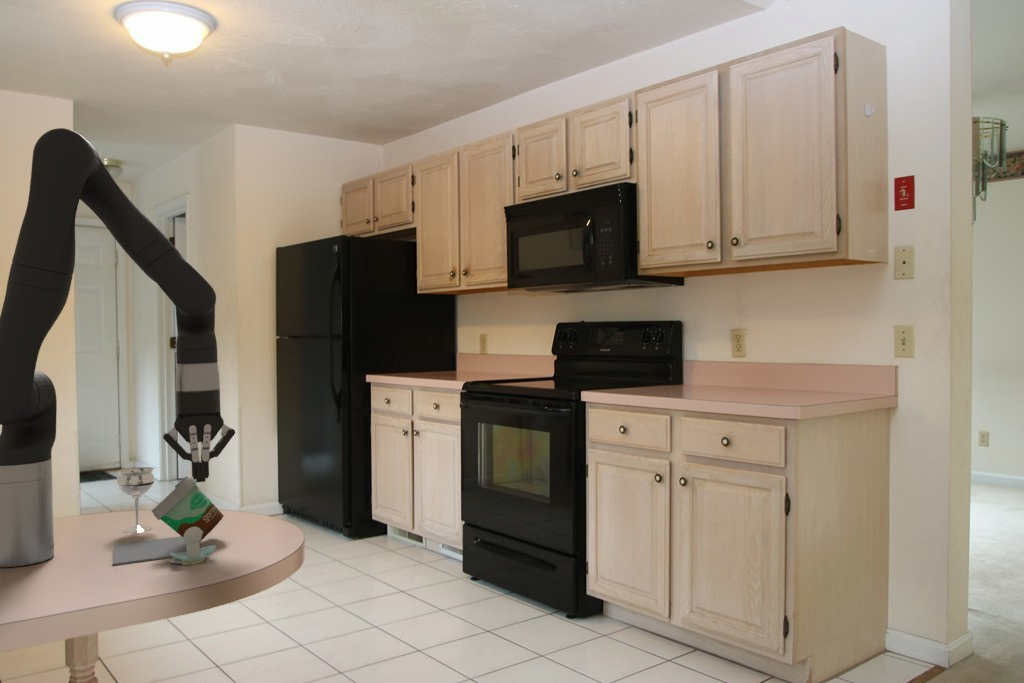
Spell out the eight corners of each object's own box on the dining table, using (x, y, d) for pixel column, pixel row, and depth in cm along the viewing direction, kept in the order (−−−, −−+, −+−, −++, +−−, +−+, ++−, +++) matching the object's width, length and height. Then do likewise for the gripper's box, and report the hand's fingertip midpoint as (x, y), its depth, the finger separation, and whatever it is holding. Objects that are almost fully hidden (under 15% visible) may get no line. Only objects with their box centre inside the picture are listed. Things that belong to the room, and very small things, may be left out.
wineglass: (115, 529, 156) (113, 469, 156) (151, 523, 160) (150, 465, 160) (121, 535, 151) (120, 474, 151) (159, 529, 155) (157, 470, 155)
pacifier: (163, 563, 132) (174, 570, 128) (162, 526, 132) (173, 531, 128) (207, 555, 137) (219, 561, 132) (206, 519, 137) (218, 524, 132)
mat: (112, 565, 131) (112, 563, 131) (113, 546, 143) (113, 544, 143) (201, 553, 137) (201, 551, 137) (195, 535, 149) (195, 534, 149)
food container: (216, 529, 138) (174, 490, 136) (191, 550, 139) (149, 512, 137) (236, 501, 150) (198, 464, 148) (213, 521, 151) (175, 485, 149)
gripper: (159, 391, 137) (162, 488, 137) (238, 387, 143) (241, 480, 143) (158, 388, 144) (160, 482, 144) (233, 385, 150) (235, 474, 150)
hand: (200, 481), depth 143 cm, fingers closed
